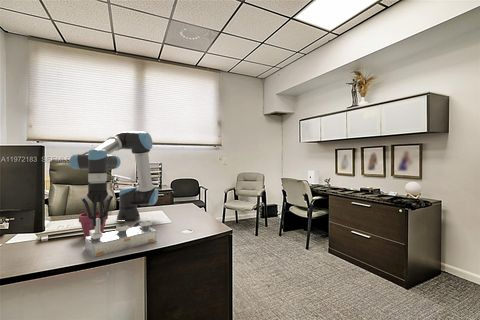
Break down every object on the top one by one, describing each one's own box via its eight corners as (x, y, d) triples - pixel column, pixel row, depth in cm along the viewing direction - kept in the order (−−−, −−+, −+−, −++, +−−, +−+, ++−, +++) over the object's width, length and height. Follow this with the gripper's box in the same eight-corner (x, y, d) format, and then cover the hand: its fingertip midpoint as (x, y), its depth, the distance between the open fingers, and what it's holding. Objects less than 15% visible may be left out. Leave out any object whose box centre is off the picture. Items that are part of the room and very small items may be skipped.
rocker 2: (116, 231, 123) (116, 227, 123) (123, 230, 125) (123, 225, 125) (121, 231, 117) (120, 226, 117) (128, 229, 119) (128, 224, 120)
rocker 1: (89, 234, 114) (89, 229, 114) (97, 232, 117) (97, 228, 117) (93, 239, 109) (93, 234, 109) (102, 237, 111) (102, 232, 111)
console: (85, 248, 116) (85, 234, 116) (145, 234, 137) (145, 222, 137) (92, 258, 105) (92, 241, 105) (156, 241, 126) (156, 228, 126)
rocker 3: (139, 226, 131) (139, 222, 131) (146, 225, 133) (145, 221, 134) (145, 226, 125) (144, 221, 126) (151, 224, 128) (151, 220, 128)
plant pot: (106, 230, 146) (106, 209, 145) (109, 236, 134) (109, 214, 134) (78, 234, 137) (78, 212, 137) (79, 241, 126) (79, 217, 126)
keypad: (126, 228, 139) (135, 221, 154) (126, 234, 139) (135, 227, 154) (143, 227, 140) (150, 221, 155) (143, 234, 140) (150, 226, 155)
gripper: (82, 183, 103) (82, 237, 102) (115, 181, 112) (115, 231, 112) (79, 182, 108) (79, 234, 108) (110, 181, 117) (110, 228, 117)
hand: (97, 232), depth 110 cm, fingers closed
